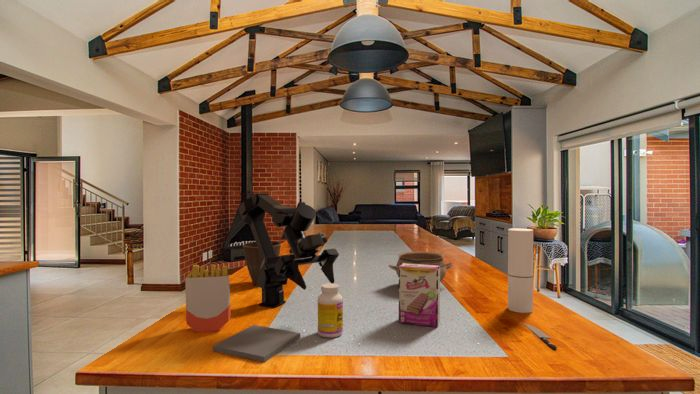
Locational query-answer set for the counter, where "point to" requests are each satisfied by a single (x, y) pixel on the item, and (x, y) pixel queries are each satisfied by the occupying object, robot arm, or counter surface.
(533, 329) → the chef's knife
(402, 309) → the candy bar box
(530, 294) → the cylindrical container
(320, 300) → the supplement bottle
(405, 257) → the cooking pot
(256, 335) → the charcoal mat
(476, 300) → the counter surface
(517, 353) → the counter surface
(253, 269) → the plant pot
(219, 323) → the french fries container
